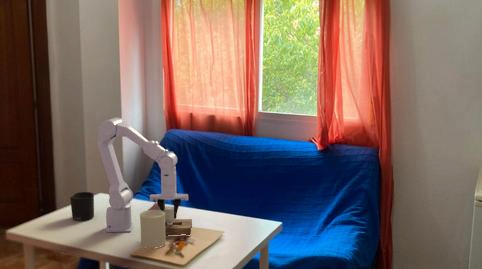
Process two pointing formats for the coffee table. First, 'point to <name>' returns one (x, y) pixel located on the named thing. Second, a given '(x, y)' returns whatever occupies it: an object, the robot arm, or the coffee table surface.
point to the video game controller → (155, 206)
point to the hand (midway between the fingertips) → (169, 218)
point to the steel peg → (169, 215)
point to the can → (152, 228)
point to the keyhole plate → (179, 227)
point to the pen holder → (82, 206)
